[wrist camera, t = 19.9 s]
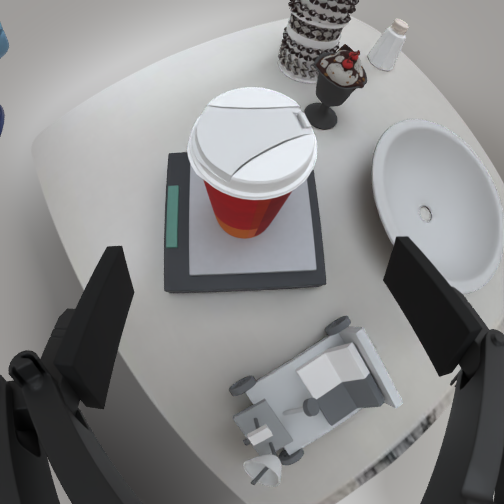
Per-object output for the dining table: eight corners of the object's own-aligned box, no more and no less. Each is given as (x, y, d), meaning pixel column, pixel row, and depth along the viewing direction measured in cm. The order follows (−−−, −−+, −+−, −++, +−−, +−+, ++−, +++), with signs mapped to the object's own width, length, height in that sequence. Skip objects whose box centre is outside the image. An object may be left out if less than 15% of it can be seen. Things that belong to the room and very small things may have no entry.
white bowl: (424, 335, 34) (455, 336, 27) (314, 192, 37) (330, 168, 30) (494, 232, 38) (520, 222, 32) (411, 120, 41) (430, 98, 34)
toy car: (271, 512, 19) (200, 427, 21) (260, 468, 29) (208, 396, 31) (427, 407, 22) (381, 314, 24) (383, 389, 32) (341, 315, 34)
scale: (169, 293, 33) (162, 290, 29) (172, 165, 36) (167, 149, 32) (318, 286, 34) (328, 283, 30) (305, 162, 37) (312, 147, 34)
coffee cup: (267, 168, 33) (292, 73, 18) (293, 236, 31) (344, 171, 17) (194, 188, 32) (172, 97, 17) (216, 260, 30) (203, 209, 15)
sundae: (319, 141, 38) (357, 66, 24) (289, 108, 39) (312, 29, 24) (351, 124, 39) (393, 55, 25) (322, 94, 40) (352, 21, 26)
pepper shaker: (393, 60, 44) (415, 23, 34) (392, 75, 43) (417, 36, 32) (368, 49, 44) (387, 9, 34) (366, 63, 43) (387, 21, 32)
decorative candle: (340, 72, 42) (392, -45, 17) (306, 93, 40) (354, -47, 16) (300, 44, 43) (332, -72, 18) (264, 62, 41) (285, -72, 17)
